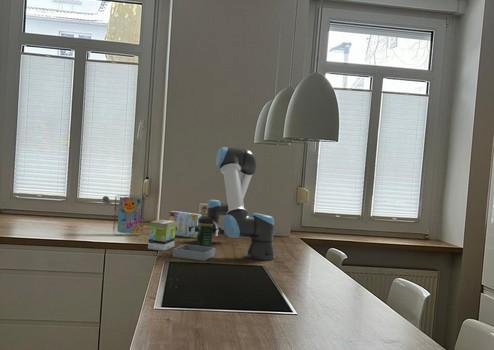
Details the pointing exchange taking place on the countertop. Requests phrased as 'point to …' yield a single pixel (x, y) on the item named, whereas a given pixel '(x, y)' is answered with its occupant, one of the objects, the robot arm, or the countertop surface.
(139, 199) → the box
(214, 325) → the countertop surface
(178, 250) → the tray
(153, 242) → the tea box
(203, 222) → the coffee jar
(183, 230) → the snack box
